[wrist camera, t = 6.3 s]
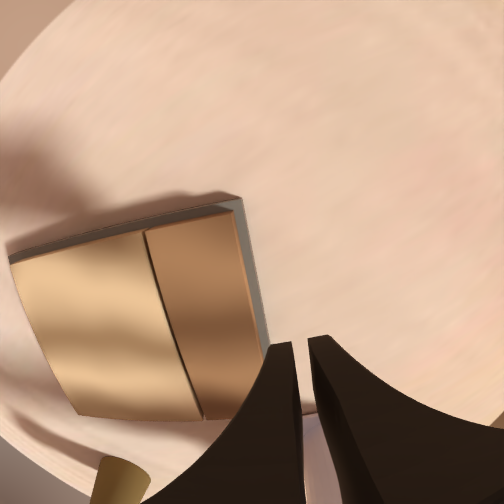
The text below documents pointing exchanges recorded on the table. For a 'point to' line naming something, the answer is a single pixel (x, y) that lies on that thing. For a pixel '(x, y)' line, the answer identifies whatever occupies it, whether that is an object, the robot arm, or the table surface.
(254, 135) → the table surface
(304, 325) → the table surface
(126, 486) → the olive pawn
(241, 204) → the rubber mat
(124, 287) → the oak plank
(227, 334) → the brown curved block
